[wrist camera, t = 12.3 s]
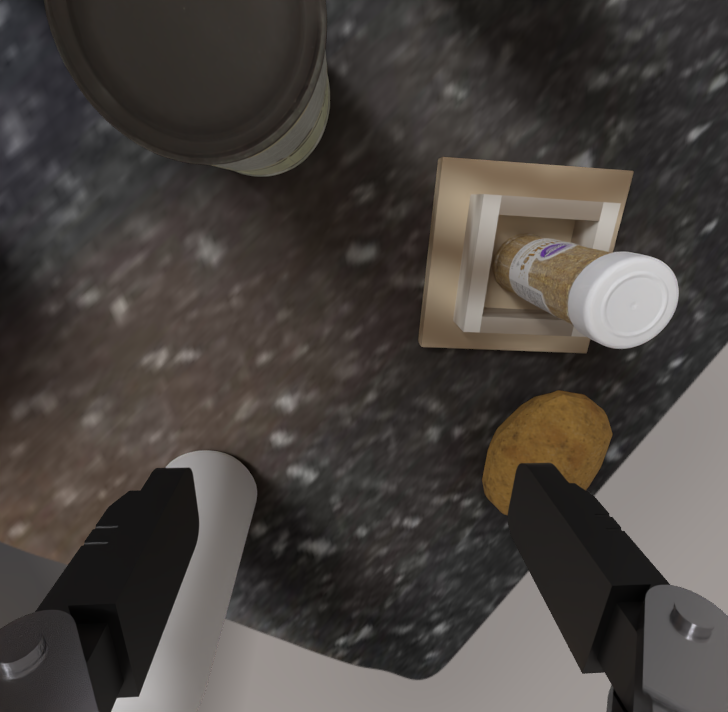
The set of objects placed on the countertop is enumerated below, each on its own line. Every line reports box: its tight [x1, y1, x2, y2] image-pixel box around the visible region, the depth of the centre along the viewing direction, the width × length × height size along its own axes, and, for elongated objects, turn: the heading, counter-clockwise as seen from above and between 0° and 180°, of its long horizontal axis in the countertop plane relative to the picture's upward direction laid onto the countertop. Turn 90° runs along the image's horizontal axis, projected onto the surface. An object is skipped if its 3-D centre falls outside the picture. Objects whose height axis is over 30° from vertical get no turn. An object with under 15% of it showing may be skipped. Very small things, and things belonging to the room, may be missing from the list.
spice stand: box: [418, 157, 634, 353], centre depth 32 cm, size 14×14×4 cm
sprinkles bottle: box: [493, 233, 679, 349], centre depth 26 cm, size 5×5×14 cm
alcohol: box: [111, 450, 257, 712], centre depth 25 cm, size 9×9×30 cm
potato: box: [482, 390, 612, 515], centre depth 36 cm, size 9×13×7 cm
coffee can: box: [44, 0, 330, 177], centre depth 22 cm, size 10×10×14 cm
